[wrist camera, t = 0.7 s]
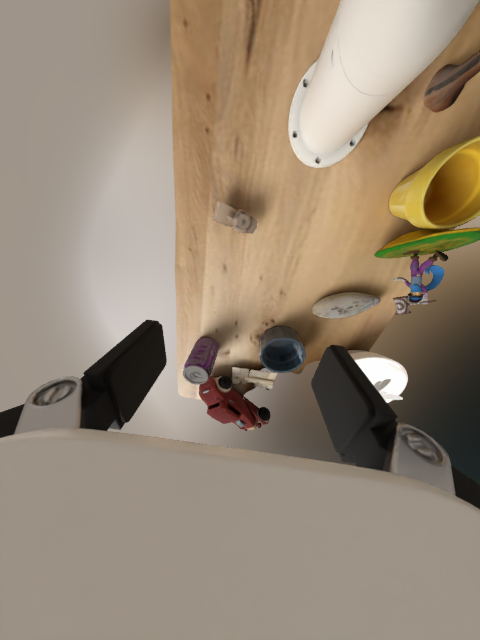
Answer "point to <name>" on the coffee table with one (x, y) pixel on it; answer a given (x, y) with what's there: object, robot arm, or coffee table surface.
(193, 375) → the beverage can
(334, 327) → the coffee table surface
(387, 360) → the bowl
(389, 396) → the fairy figurine
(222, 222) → the toy character
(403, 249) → the pirate figurine
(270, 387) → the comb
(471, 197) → the flower pot
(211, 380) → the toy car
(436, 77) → the brown ridged tall piece
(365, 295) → the decorative stone
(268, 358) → the dark blue cup
